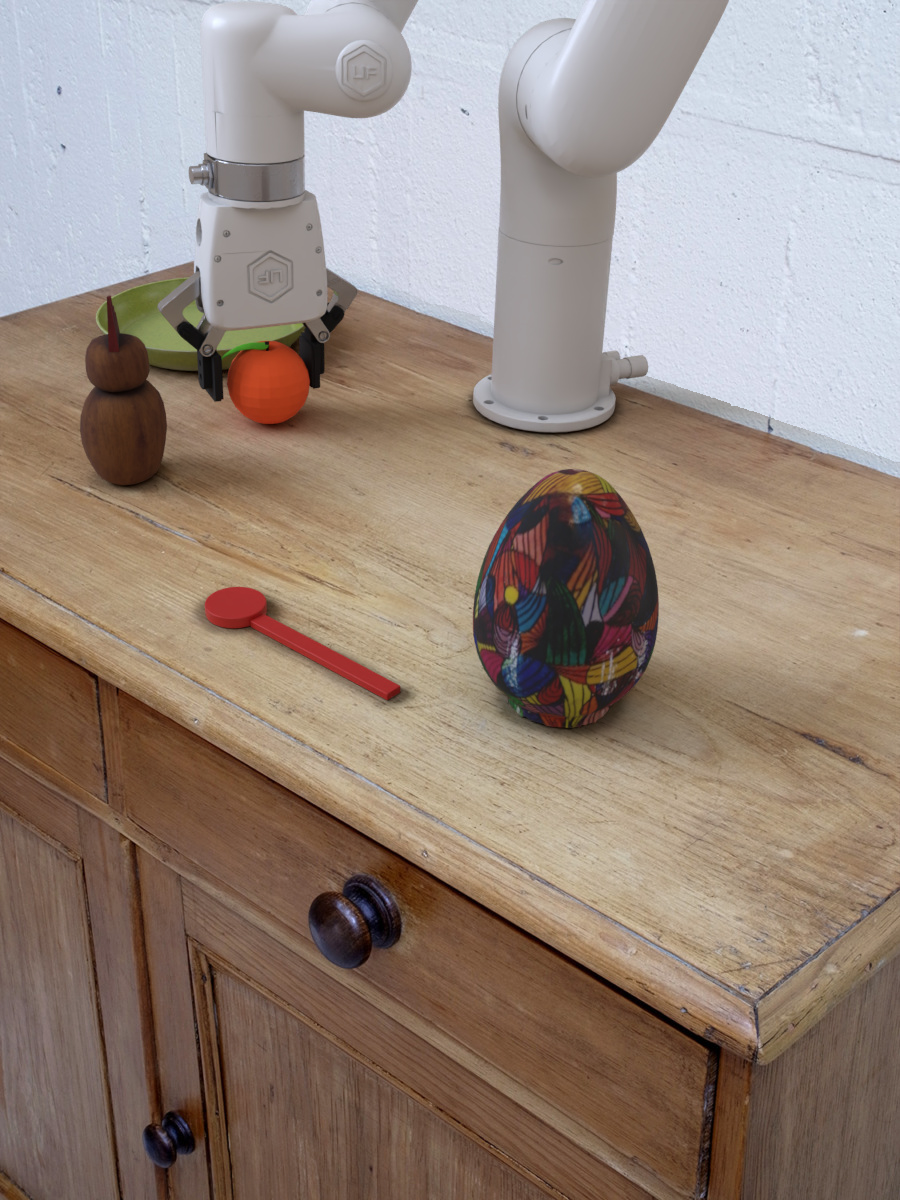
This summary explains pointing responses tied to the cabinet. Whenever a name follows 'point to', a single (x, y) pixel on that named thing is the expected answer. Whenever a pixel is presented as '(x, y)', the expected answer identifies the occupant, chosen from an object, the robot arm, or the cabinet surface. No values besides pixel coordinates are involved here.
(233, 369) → the clementine
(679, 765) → the cabinet surface
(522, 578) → the egg
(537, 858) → the cabinet surface
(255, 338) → the saucer
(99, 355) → the wooden figurine
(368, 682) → the spoon
